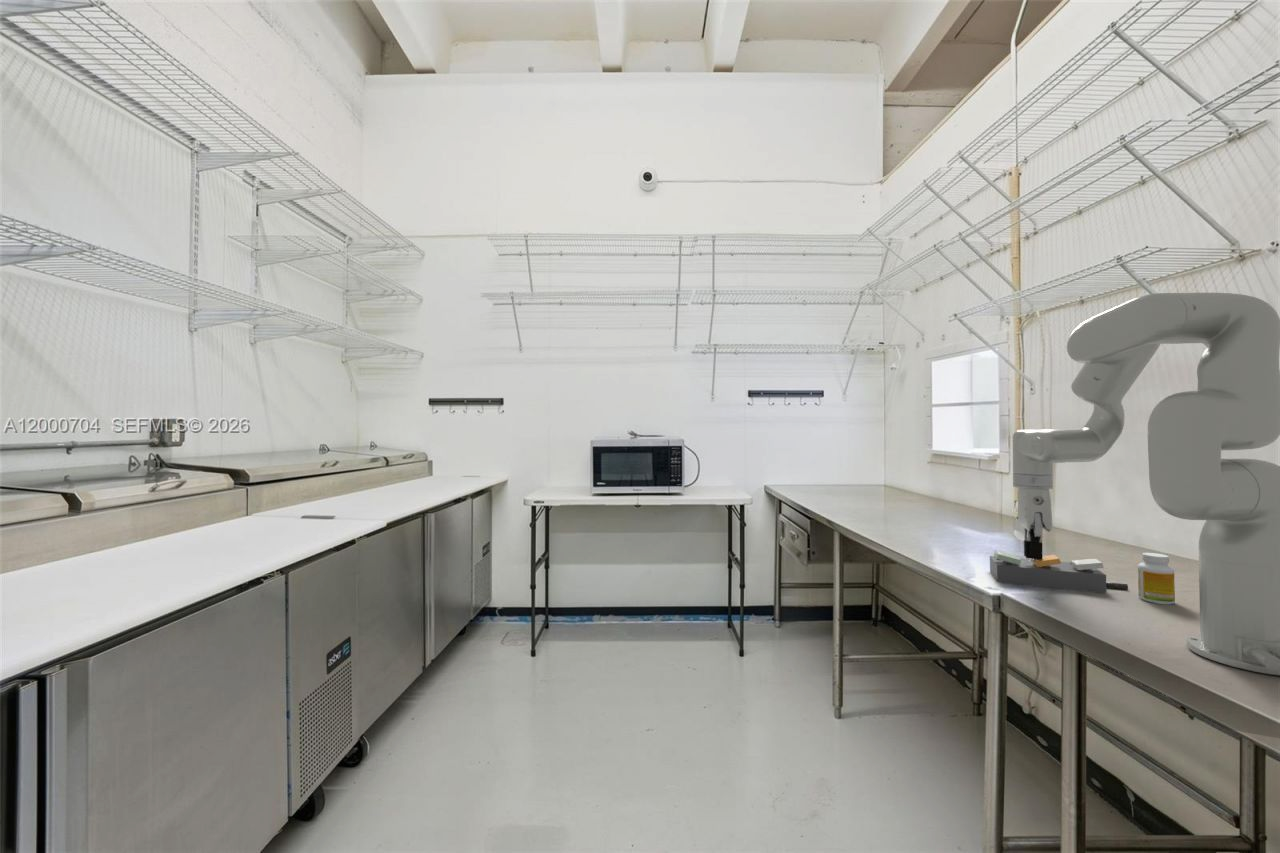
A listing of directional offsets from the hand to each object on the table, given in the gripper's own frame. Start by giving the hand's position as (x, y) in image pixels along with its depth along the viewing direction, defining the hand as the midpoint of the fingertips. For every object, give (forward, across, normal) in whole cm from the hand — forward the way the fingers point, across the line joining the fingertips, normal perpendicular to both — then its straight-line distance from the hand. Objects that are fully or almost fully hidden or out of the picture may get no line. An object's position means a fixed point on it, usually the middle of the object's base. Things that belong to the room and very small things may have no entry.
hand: (1033, 557), depth 120 cm
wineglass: (+6, +20, -3) cm, 22 cm away
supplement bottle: (+6, -6, -20) cm, 21 cm away
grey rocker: (0, 0, -10) cm, 10 cm away
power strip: (+6, +1, -5) cm, 8 cm away
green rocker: (0, 0, +5) cm, 5 cm away
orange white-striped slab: (0, 0, -2) cm, 2 cm away
